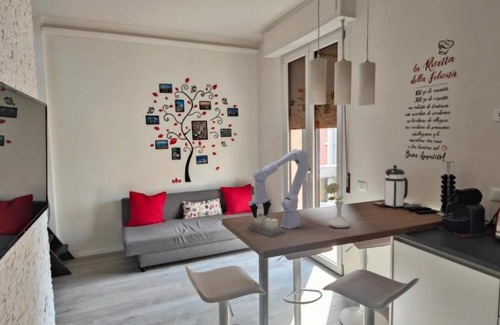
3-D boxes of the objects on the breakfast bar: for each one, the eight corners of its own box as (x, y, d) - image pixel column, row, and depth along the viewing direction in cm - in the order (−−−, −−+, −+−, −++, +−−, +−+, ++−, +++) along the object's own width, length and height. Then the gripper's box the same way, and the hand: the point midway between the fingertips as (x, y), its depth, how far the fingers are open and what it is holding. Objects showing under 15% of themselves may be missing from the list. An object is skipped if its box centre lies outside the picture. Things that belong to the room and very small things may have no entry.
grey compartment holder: (261, 225, 186) (261, 211, 185) (284, 233, 171) (284, 217, 170) (247, 228, 180) (247, 213, 179) (270, 237, 165) (270, 220, 164)
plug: (259, 224, 183) (259, 212, 182) (266, 227, 178) (266, 214, 177) (253, 225, 180) (253, 213, 180) (260, 228, 175) (260, 215, 175)
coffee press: (407, 210, 220) (408, 166, 217) (382, 208, 226) (383, 165, 224) (407, 205, 235) (408, 164, 233) (383, 203, 242) (384, 163, 239)
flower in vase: (348, 224, 187) (348, 181, 185) (350, 229, 176) (351, 184, 174) (324, 223, 190) (325, 181, 188) (326, 228, 178) (326, 184, 176)
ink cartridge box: (267, 216, 206) (266, 194, 204) (264, 218, 201) (264, 195, 200) (254, 215, 209) (254, 193, 208) (251, 217, 204) (251, 194, 203)
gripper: (265, 189, 185) (265, 213, 186) (245, 192, 176) (245, 217, 177) (273, 191, 179) (273, 215, 180) (253, 194, 170) (253, 219, 172)
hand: (260, 216), depth 178 cm, fingers open, 7 cm apart
